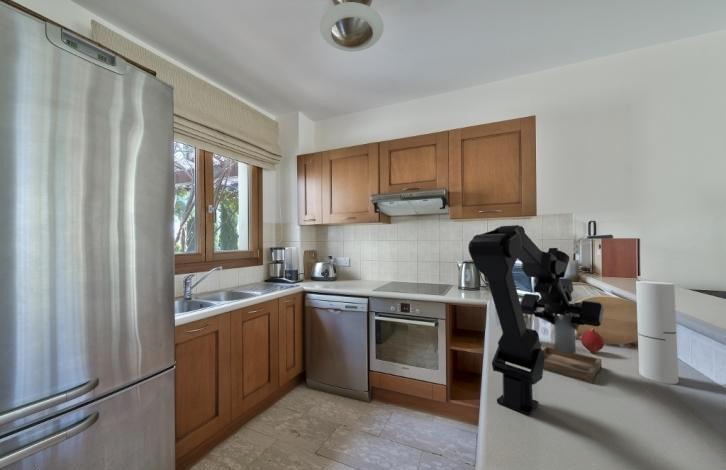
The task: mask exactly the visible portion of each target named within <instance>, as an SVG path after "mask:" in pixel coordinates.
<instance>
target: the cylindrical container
mask: <svg viewBox="0 0 726 470" xmlns="http://www.w3.org/2000/svg"><path fill="white" fill-rule="evenodd" d="M635 289H636V290H635V293H636V319H637V344H638V345H637V347H638V350H637V351H638V370H639V372H638V374H639V375H641V377H644V378H645V379H647V380H652V381H654V382H657V383H658V382H659V383H662V384H668V385H671V384H672V385H677V384H679V366H678V365H679V364H678V360H679V359H678V341H677V340H678V338H677V337H678V336H677V320H676V319H677V317H676V316H677V315H676V295H675V294H676V291H675V283H672V282H667V281H666V282H664V281H654V280H653V281H651V280H636V281H635Z"/></svg>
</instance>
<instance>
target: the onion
mask: <svg viewBox="0 0 726 470" xmlns="http://www.w3.org/2000/svg"><path fill="white" fill-rule="evenodd" d="M580 343H581V345H582V346H583V347H584V348H585V349H586V350H587V351H589V352H590V353H592V354H595V353H597V352H599V351H601V350H602V349H603V348H604V346H605V341H604V339H603V337H602V336H601V335H600V334H599V333H598V332H597V331H596V330H595V328H594V327H593V328H592V327H591V328H590V329H589V330H587V331H585V332H584V333H582V335H581V339H580Z"/></svg>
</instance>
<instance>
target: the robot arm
mask: <svg viewBox="0 0 726 470" xmlns="http://www.w3.org/2000/svg"><path fill="white" fill-rule="evenodd" d="M467 249H468V253H469V255H470V256H469V257H470V258H471V261H472V262H473V264H474V267H475V268H476V269H477V270H478V271H479V272H480V273H481V274H483V276H484V277H486V279H487V283H488V287H489V291H490V293H491V296H492V300H493V303H494V304H493V305H494V307H495V311H496V314H497V318H498V321H499V325H500V327H501V331H502V332H501V333H502V335H501V336H500V338H499V340H498V342H497V344H498V346H497V348H496V351H495V354H494V356H493V359H492V361H491V366H492V371H494V372H497V373H500V374H502V394H501V395H500V396H499V397H498V398H496V403H497V404H500V405H503V406H504V407H507V408H510V409H512V410H514V411H517V412H520V413H522V414H525V415H527V416H530V415H531V414H532V413H533V411H534V410H535V409H536V408H537V407H538V406H539V401H538V400H536V399H533V396H534V395H533V385H536V384H537V383H538V382H540V381H541V380H542V379H543V374H544V370H543V366H544V352H543V350H542V343H541V341H540V335H539V333H538V331H537V330H535V329H532V330H531V329H527V327H526V324H525V320H524V316H523V313H524V314H529V315H533V314H534V318H539V319H541V320H543V321H546V322H547V323H549V324H551V325H553V326H554V314H559V315H566V314H567V315H570V313H572V315H573V316H572V320H571V324H572V325H573V327H574V328H575V331H576V330H578V328H579V326H584V325H588V326H593V327H600V326H601V324H602V320H603V315H604V309H605V308H604V305H603V304H602V303H601V302H599V301H591V300H582V301H581V302H574V303H570V302H572V300H573V297H572V294H573V292H574V285H573V280H572V279H570V278H565V276H566V272H567V268H568V266H569V262H570V260H571V258H570V256H569V255H568V254H567V253H565V252H564V251H561V250H559V248H558V247H549V248H548V251H547V252H546V251H543V250H541V249H540V248H539V247H538V246H537V244H536V243H535V242H533V240H532V239H531V238H530V237H529V236H528V235H527V233H526V232H525V227H523V225H518V224H516V225H501V226H499V227H496V228H495V229H492V230H490V231H486V232H484V233H481V234H476V235H473V237H472V239H471V240H470V241H469V243H468V248H467ZM517 260H519V262H520V263H521V270H522V271H523V274H525V276H527V277H528V278H534V280H533V282H534V284H535V285H534V287H533V292H534V293H538V294H534V293H524V294H523V296H522V298H521V299H522V301H521V304H520V301H519V298H520V297H519V294H518V290H517V286H516V282H515V279H514V273H513V268H514V267H515V265H516V262H517ZM507 363H509V364H507ZM510 364H513V365H516V366H513V365H510ZM517 366H519V367H521V368H519V367H517ZM523 368H525V369H523ZM526 369H528V370H526ZM529 370H530V371H529Z"/></svg>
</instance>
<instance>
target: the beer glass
mask: <svg viewBox="0 0 726 470" xmlns="http://www.w3.org/2000/svg"><path fill="white" fill-rule="evenodd" d="M519 301H520V304H521V301H522V298H520V297H519ZM523 316H524V320H525V324H526V327H527V329H531V330H533V326H534V320H535V316H534V314H533V315H529V314H524V313H523Z"/></svg>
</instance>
